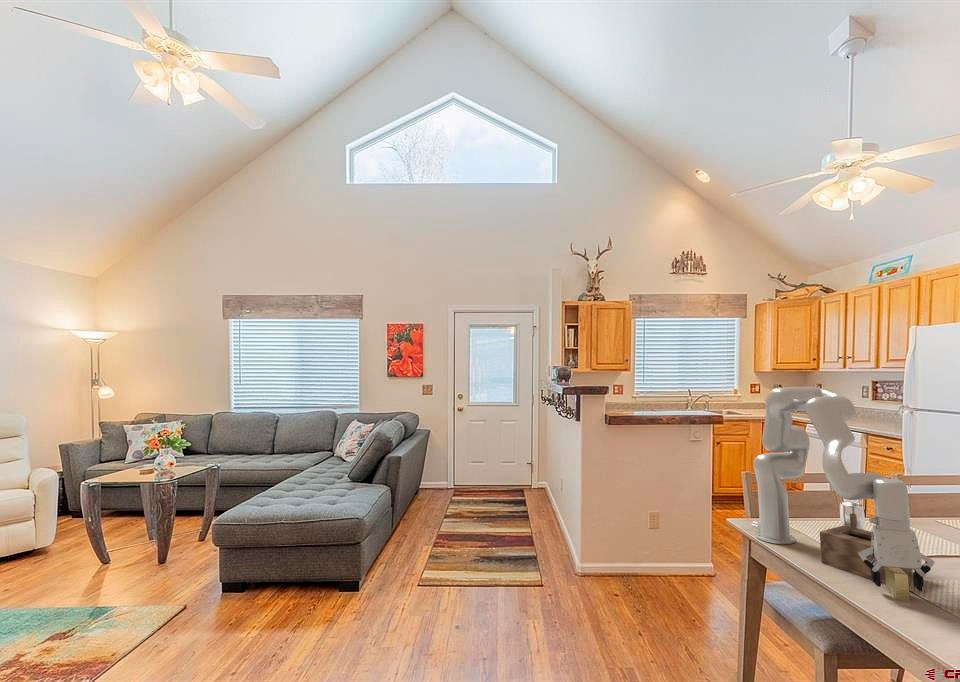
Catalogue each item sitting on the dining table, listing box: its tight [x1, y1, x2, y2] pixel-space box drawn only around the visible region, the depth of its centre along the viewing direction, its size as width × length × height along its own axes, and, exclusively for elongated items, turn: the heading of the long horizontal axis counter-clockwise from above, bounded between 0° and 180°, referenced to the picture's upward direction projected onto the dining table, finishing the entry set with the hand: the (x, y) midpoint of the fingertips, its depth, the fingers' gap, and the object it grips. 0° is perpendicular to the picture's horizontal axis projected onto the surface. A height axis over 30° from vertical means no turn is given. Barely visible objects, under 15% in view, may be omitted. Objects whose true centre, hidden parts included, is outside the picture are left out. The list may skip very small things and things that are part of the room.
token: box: [885, 567, 911, 602], centre depth 134 cm, size 6×3×7 cm, turn 159°
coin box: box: [819, 525, 913, 585], centre depth 152 cm, size 18×14×10 cm
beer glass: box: [839, 501, 866, 530], centre depth 170 cm, size 7×7×15 cm
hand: (897, 586), depth 134 cm, fingers open, 8 cm apart
